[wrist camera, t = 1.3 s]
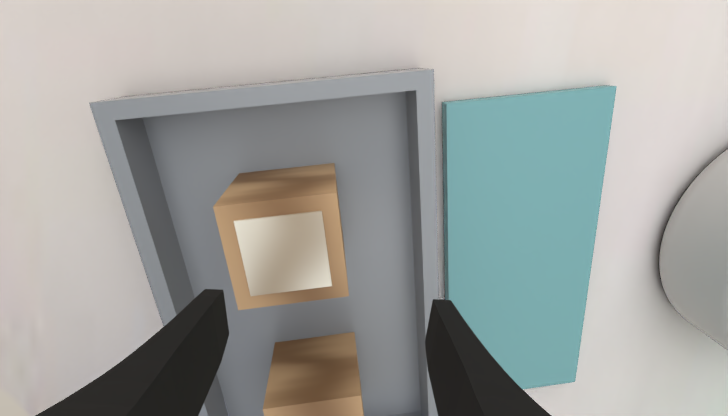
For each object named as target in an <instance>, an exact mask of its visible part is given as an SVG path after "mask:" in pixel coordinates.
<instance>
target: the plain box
mask: <svg viewBox="0 0 728 416" xmlns="http://www.w3.org/2000/svg"><path fill="white" fill-rule="evenodd" d="M263 412H264V416H364V410H363V401H362V391H361V383H360V374H359V366H358V358H357V349H356V341H355V332H350V333H343V334H335V335H328V336H320V337H312V338H305V339H297V340H290V341H282V342H275V345H274V350H273V356H272V361H271V367H270V372H269V378H268V383H267V389H266V394H265V400H264V405H263Z"/></svg>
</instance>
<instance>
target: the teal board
mask: <svg viewBox="0 0 728 416" xmlns="http://www.w3.org/2000/svg"><path fill="white" fill-rule="evenodd" d="M615 93H616V86H607V85H606V86H596V87H586V88H576V89H566V90H556V91H547V92H537V93H527V94H517V95H507V96H498V97H488V98H478V99H468V100H458V101H449V102H442V123H443V190H444V256H445V300H451V301H452V303H453V304H454V305H455V307H456V308H457V310H458V311H459V313H460V314H461V316H462V317H463V318H464V320H465V321H466V323H467V324H468V325H469V327H470V328H471V330H472V331H473V332H474V334H475V335H476V336H477V338H478V339H479V340H480V341H481V343H482V344H483V345H484V347H485V348H486V349H487V350H488V352H489V353H490V354H491V355H492V357H493V358H494V359H495V360H496V361H497V362H498V364H499V365H500V366H501V367H502V368H503V369H504V371H505V372H506V373H507V374H508V375H509V376H510V377H511V378H512V379H513V380H514V381H515V382H516V383H517V384H518V385H519V386H520V387H521V388H522V389H528V388H535V387H542V386H549V385H556V384H563V383H570V382H575V378H576V371H577V364H578V357H579V350H580V342H581V335H582V328H583V321H584V314H585V307H586V300H587V293H588V286H589V278H590V271H591V264H592V257H593V250H594V243H595V236H596V229H597V222H598V214H599V207H600V200H601V193H602V186H603V179H604V172H605V165H606V158H607V150H608V143H609V136H610V129H611V122H612V115H613V108H614V101H615Z"/></svg>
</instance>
